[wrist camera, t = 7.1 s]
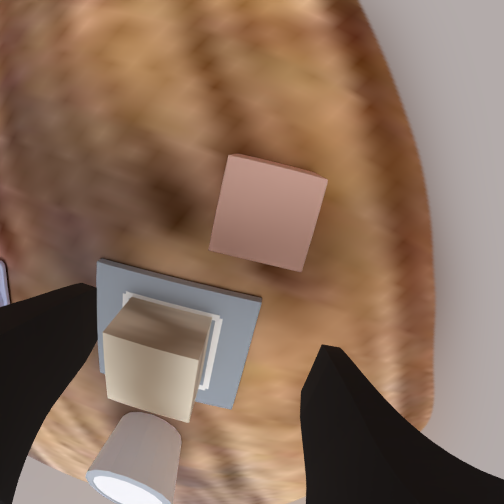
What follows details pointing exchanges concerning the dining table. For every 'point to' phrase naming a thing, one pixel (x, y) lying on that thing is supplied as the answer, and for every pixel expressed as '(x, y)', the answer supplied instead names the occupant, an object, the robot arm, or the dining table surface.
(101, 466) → the grey cylinder
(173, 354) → the base block
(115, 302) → the base plate
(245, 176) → the top block
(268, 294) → the dining table surface
